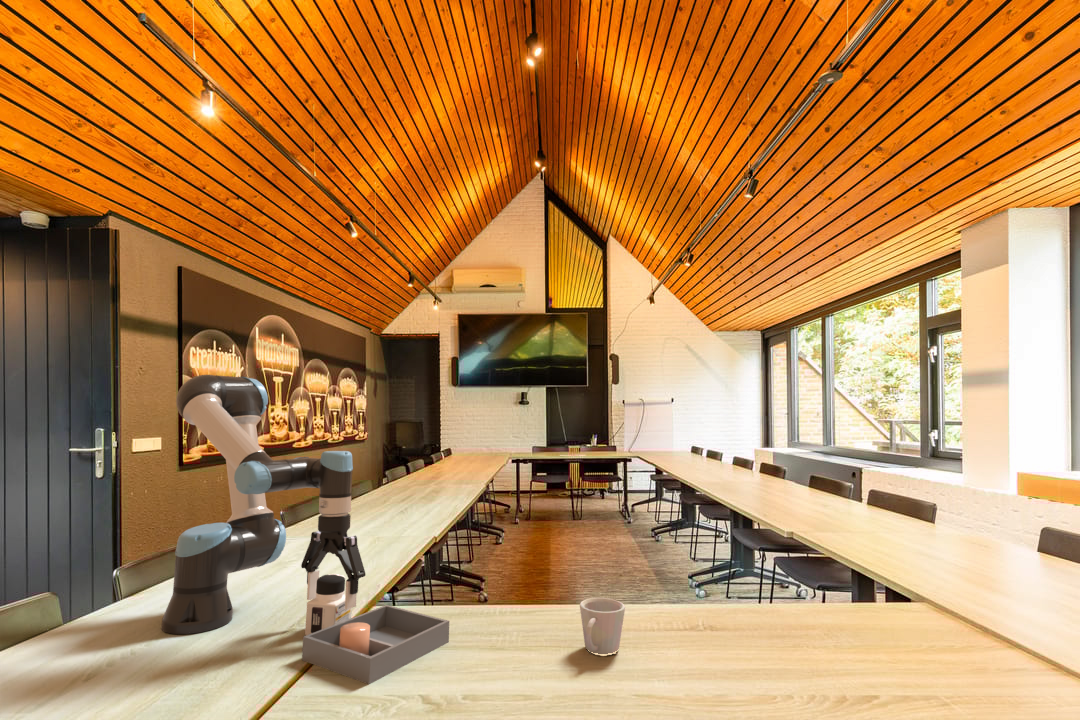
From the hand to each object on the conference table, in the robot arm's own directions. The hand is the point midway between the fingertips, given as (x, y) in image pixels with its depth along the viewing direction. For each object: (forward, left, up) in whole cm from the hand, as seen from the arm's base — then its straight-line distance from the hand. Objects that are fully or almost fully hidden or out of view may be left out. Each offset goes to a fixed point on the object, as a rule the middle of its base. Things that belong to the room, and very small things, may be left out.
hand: (331, 603), depth 136 cm
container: (0, 0, -7) cm, 7 cm away
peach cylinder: (+20, -10, -6) cm, 23 cm away
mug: (+61, +24, -7) cm, 65 cm away
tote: (+20, -3, -7) cm, 21 cm away
